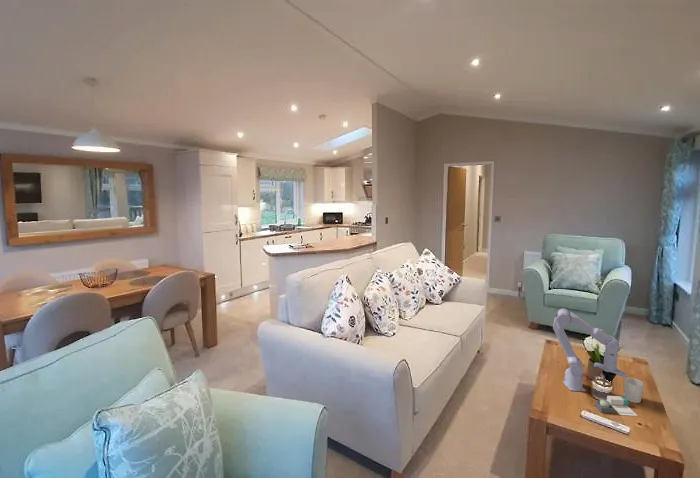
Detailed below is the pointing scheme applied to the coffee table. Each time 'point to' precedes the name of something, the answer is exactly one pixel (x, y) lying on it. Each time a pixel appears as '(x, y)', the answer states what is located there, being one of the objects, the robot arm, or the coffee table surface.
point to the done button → (604, 403)
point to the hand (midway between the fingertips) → (608, 384)
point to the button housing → (604, 408)
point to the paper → (624, 410)
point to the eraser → (617, 400)
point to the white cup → (633, 390)
